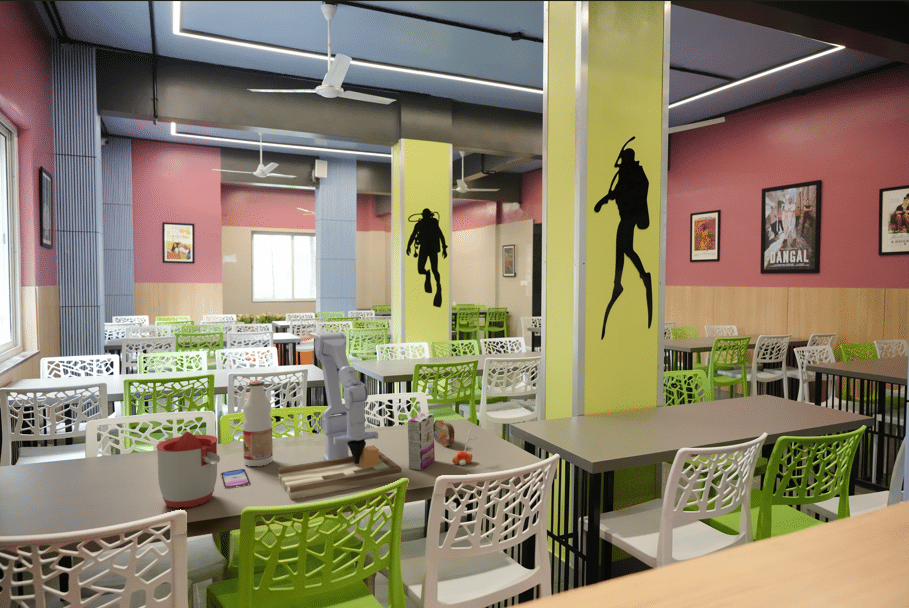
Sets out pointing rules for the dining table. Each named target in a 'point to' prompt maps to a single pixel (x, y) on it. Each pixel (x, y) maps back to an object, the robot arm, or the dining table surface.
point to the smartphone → (235, 478)
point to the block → (369, 456)
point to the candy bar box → (421, 441)
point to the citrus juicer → (187, 469)
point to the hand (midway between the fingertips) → (356, 462)
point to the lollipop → (463, 454)
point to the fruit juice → (257, 427)
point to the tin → (443, 433)
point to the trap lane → (335, 476)
